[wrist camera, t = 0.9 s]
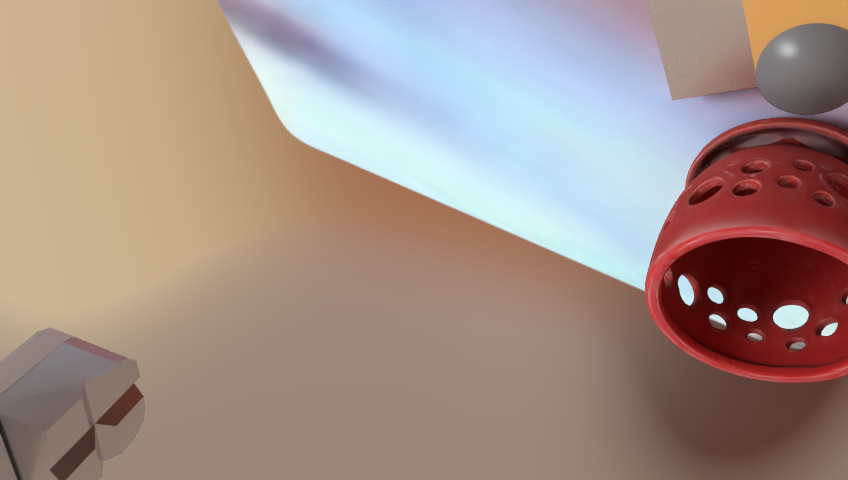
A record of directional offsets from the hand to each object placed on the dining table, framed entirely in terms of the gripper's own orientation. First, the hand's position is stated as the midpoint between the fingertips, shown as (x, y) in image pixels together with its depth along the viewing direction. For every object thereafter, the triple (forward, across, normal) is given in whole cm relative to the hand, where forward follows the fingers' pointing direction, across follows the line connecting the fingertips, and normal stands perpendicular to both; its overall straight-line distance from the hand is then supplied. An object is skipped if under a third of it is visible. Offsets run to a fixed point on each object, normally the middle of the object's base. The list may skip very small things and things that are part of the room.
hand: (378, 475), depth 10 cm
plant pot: (+41, -13, +14) cm, 45 cm away
